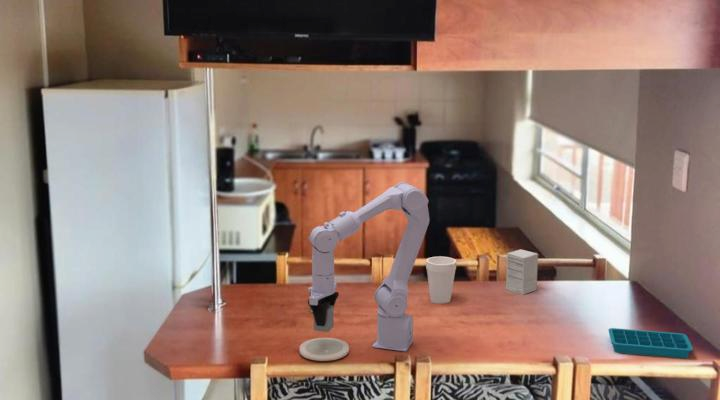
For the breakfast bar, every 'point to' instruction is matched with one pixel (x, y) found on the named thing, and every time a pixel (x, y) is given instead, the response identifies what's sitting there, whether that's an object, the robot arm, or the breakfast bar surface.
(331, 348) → the dish
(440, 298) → the foam cup
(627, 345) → the ice cube tray
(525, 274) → the supplement box
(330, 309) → the block
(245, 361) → the breakfast bar surface
